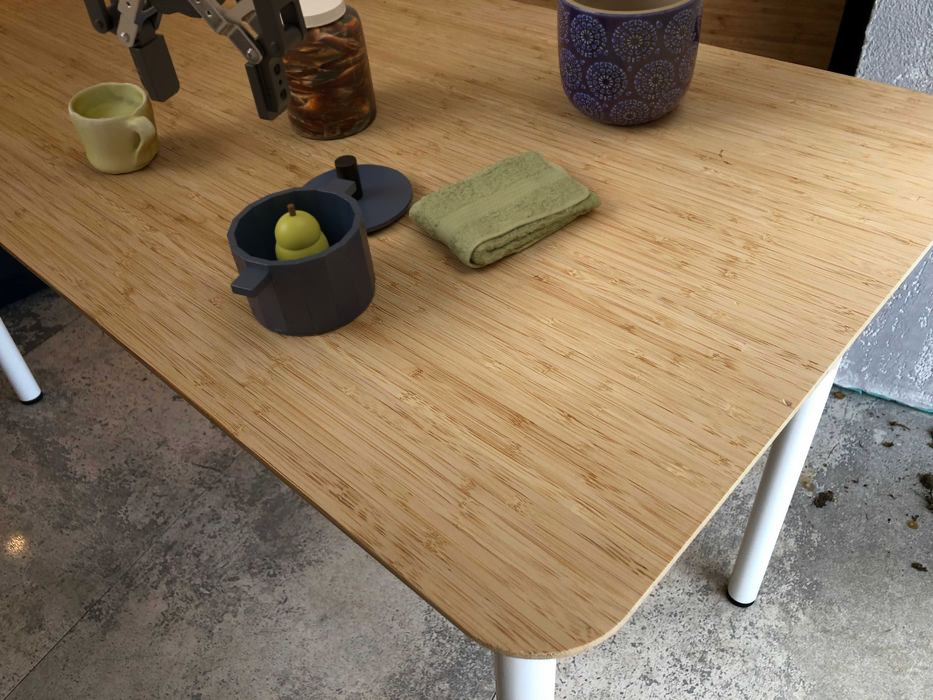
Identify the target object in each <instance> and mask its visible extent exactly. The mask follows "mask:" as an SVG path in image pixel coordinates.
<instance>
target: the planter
mask: <svg viewBox="0 0 933 700" xmlns="http://www.w3.org/2000/svg"><path fill="white" fill-rule="evenodd" d="M556 1H557V2H556V34H557V55H558V68H559V76H560V82H561V86H562V89H563V92H564V94H565V96H566V97H567V99H568V101H569V102H570V103H571V104H572V106H573V107H574V108H575V109H576V110H577V111H579V112H580V113H581V114H582V115H584V116H586V117H587V118H589V119H592V120H593V121H596V122H599V123H603V124H606V125H607V124H608V125H614V126H634V125H641V124H645V123H649V122H651V121H655V120H658V119H659V118H662V117H664V116H665V115H667V114H668V113H669V112H671V111H672V110H674V108H676V107H677V105H678V104H679V103H680V102H681V101H682V100H683V99H684V97H685V96H686V94H687V93H688V92H689V89H690V86H691V84H692V81H693V77H694V74H695V69H696V64H697V58H698V51H699V45H700V39H701V38H700V37H701V30H702V22H703V13H704V12H703V11H704V2H705V1H704V0H556Z"/></svg>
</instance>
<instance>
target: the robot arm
mask: <svg viewBox="0 0 933 700" xmlns="http://www.w3.org/2000/svg"><path fill="white" fill-rule="evenodd" d="M226 1H227V0H109V2H110V4H109V5H106V1H105V0H83V3H84V6H85V8H86V12H87V14H88V17H89V21H90V23H91V25H92V27H93V29H95V31H96V32H97V33H99V34H102V35H105V34H107V33H111V34H113V35H115V36H117V38H118V40H119V42H120V43H121V45H123V46H124V47H127V48H128V50H129V54H130V56H131V58H132V61H133V64H134V66H135V69H136V72H137V74H138V78H139V80H140V83H141V85H142V86H143V89H145V90H146V91H145V92H146V93H147V95H148V96H149V99H150V101H153V102H159V103H165V102H167V101H168V100H170V99H171V98H173V96H175V95H176V94H178V93H179V91H180V88H181V84H180V80H179V76H178V75H177V72H176V69H175V66H174V62H173V60H172V57H171V53H170V50H169V47H168V45H167V42H166V39H165V37H164V34H162V33H156V32H157V31H159V28H160V26H161V22H162V17H163V15H166V16H168V15H173V14H178V13H179V14H181V15H184V16H186V17H189V18H193V19H203V20H204V21H205V22H206V23H207V25H208V26H209V27H210V28H211V29H212V30H213V32H214V33H215V34H217V35H218V36H225V37H226V38H227V39H228V40H229V41H230V42H231V43H232V44H233V46H235V48H236V49H237V50H238V52H239V53H240V54H241V55H242V56H243V57H244V59H245V60H246V61H247V62H246V63H244V68H245V71H246V75H247V79H248V82H249V87H250V89H251V93H252V96H253V100H254V105H255V109H256V113H257V115H258V117H259V119H260V120H264V121H271V122H273V121H275V120H276V119H278V117H279V116H281V115H283V113H284V112H285V111H287V110H286V109H287V106H288V104H289V103H290V101H291V92H290V87H289V83H288V80H287V75H286V71H285V67H284V63H283V59H282V56H283V55H285V54H286V53H287V52H288V51H289V50H290V49H292V48H293V47H294V46H296V45H297V44H298V43H300V42H301V41H303V40H304V39H305V38H306V37H307V28H306V24H305V20H304V17H303V13H302V9H301V5H300V2H299V0H234V1H235V2H236V4H234V5H233V6H232V7H231V6H230V8H227V7H224V6H223V5H224V4H225V2H226ZM280 14H281V17H280ZM281 18H282V20H281ZM282 21H283V24H282ZM243 22H244V23H246V24H247V25H248V26H249V27H250V28H251V30H252V31H253V32H254V33H255V34H256V36H254V35H253V33H251V31H249V29H248V28H247V26H246V25H245V24H244V23H243Z"/></svg>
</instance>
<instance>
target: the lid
mask: <svg viewBox="0 0 933 700" xmlns="http://www.w3.org/2000/svg"><path fill="white" fill-rule="evenodd" d="M333 163H334V167H335V168H333V169H330V170H326V171H325V172H323V173H321V174H318V175H316V176H315V177H312V178H311V179H310V180H309V181H307V182H306V183H304V185H302V186H301V187H309V186H321V187H326V186H327V185H328V184H329V183H330V182H331V181H332V180H333V179H334V178H338V179H344V180H349V181H354V182H355V184H356V189H357V190H356V191H355V192H354V193H353V194H352V195H351V197H352V198H354V199H355V200H356V201H357V203H358V205H359V207H360V209H361V211H362V213H363V218H364V223H365V228H366V232H367V233H370V232H374V231H377V230H380V229H382V228H384V227H386V226H388V225H390V224H392V223H394V222H396V221H397V220H398V219H399V218H401V217H402V216H403V215H404V214H405V213H406V212H407V211H408V209H409V208H410V206H411V205H412V202H413V198H414V190H413V189H414V188H413V184H412V183H411V181H410V179H409V178H408V177H407V176H406V175H405V174H404V173H402V172H401V171H399V170H397V169H395V168H393V167H390V166H386V165H382V164H373V163H360V164H358V160H357V157H355V155H351V154H344V155H341V156H338V157H336V158H335V160H334V162H333Z"/></svg>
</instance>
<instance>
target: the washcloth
mask: <svg viewBox="0 0 933 700" xmlns="http://www.w3.org/2000/svg"><path fill="white" fill-rule="evenodd" d="M601 205H602V199H601V197H599V196H598V195H597V194H596V193H595V192H593V191H591V190H590V189H589V188H588V187H587V186H586V185H583V184H582V183H581V182H579V181H578V180H577V179H576V178H575V177H574V176H572V175H571V174H570V173H569V172H568V170H566V169H565V168H564V167H563V166H561V165H559V164H554V163H552V162H551V161H550V160H549V159H547V158H546V157H545V156H544V155H543V153H542V152H541V151H526V152H522V153H520V154H516V155H511V156H510V157H508V156H506V157H504V158H502V159H500V160H499V161H497V162H495V163H494V164H492V165H491V164H490V165H489V166H488V167H485V168H483V169H480V170H477V171H476V172H473V173H472V174H470V175H469V176H467V177H464V178H463V179H460V180H458V181H456V182H455V183H454V182H453V183H451V184H445V185H444V186H443V187H442V188H438V189H436V190H435V191H433V192H431V193H428V194H427V195H423V196H422V198H420V199H419V200H418V201H416V202H415V203H414V204H412V205H411V207H410V209H409V211H408V215H409V216H408V217H409V219H410V220H411V222H413V223H414V224H416V225H417V226H418V227H420V228H421V229H422V230H424V231H426V232H427V233H428V234H429V235H430V236H431V238H434V239H435V241H436V240H437V241H438V240H439V241H440V242H441V243H442V244H444V245H445V246H446V247H448V248H449V250H450V253H451V255H453V256H456V257H457V258H458V259H459V260H460V261H461V263H462V264H464V266H466V267H469V268H475V269H476V268H477V269H478V268H483V267H486V266H487V265H489V264H490V265H491V264H493V263H495V262H496V261H499V260H501V259H502V258H503V257H508V256H509V255H511V254H513V253H520V252H522V251H523V250H525V249H527V248H529V247H531V246H532V245H534V244H535V243H538V241H540V240H542V239H544V238H545V237H547V236H549V235H551V234H552V233H554V232H556V231H558V230H560V229H562V228H563V227H565V226H566V225H568V224H570V223H572V222H573V221H574V220H576V219H577V218H578V217H579V216H582V215H586V214H587V213H589V212H590V211H592V210H593V209H597V208H599V207H600V206H601Z"/></svg>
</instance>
